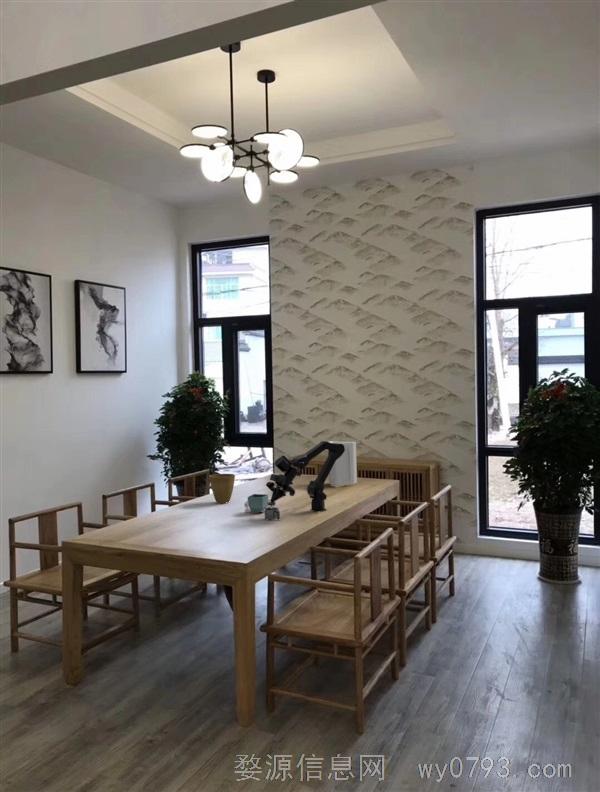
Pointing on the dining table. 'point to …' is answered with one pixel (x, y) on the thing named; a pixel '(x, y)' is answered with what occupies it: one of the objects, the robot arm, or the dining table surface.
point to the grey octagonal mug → (272, 513)
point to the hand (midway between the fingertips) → (271, 501)
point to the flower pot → (257, 502)
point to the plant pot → (222, 486)
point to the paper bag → (344, 466)
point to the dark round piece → (271, 504)
